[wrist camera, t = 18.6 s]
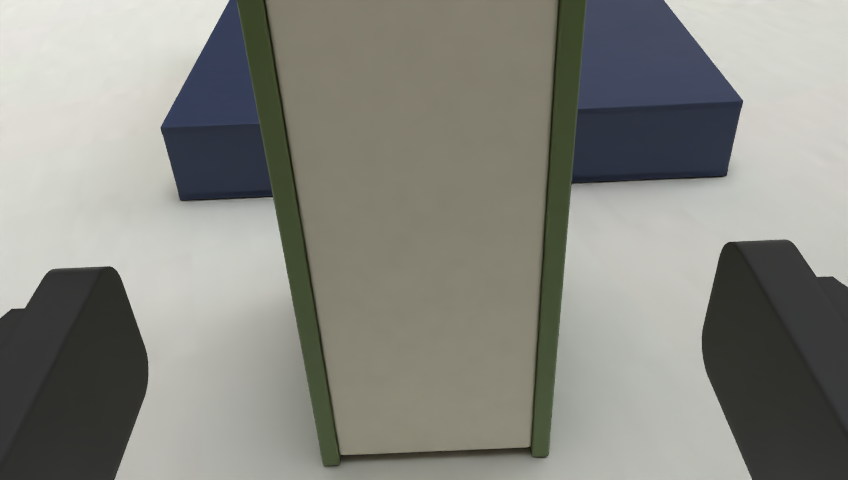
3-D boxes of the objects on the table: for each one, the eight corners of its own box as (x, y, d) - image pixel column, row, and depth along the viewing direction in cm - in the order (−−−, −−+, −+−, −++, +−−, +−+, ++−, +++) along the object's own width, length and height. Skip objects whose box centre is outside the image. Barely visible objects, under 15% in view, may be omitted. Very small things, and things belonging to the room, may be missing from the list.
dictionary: (515, 273, 24) (530, -153, 17) (548, 457, 18) (592, -66, 11) (342, 281, 24) (285, -140, 17) (323, 466, 18) (226, -49, 11)
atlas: (630, 25, 40) (637, -34, 38) (727, 175, 28) (743, 101, 26) (247, 42, 40) (237, -15, 39) (179, 200, 28) (159, 127, 27)
